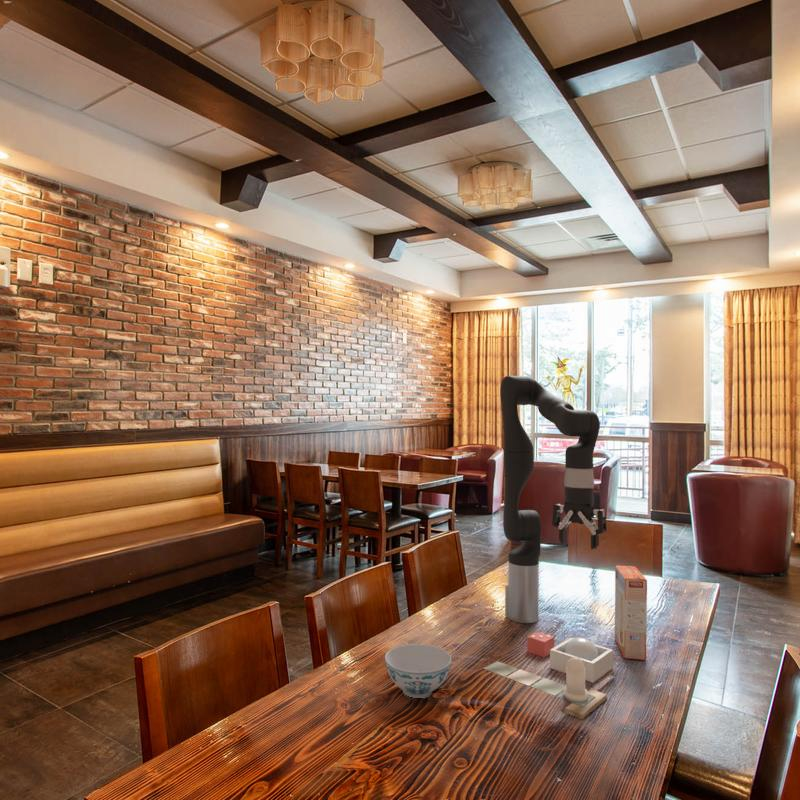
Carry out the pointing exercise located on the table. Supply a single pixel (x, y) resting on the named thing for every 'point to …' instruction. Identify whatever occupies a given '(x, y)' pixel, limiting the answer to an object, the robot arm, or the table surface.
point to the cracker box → (630, 612)
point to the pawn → (575, 681)
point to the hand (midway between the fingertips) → (578, 546)
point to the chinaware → (418, 668)
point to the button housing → (592, 668)
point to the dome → (582, 649)
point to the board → (550, 689)
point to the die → (540, 644)
